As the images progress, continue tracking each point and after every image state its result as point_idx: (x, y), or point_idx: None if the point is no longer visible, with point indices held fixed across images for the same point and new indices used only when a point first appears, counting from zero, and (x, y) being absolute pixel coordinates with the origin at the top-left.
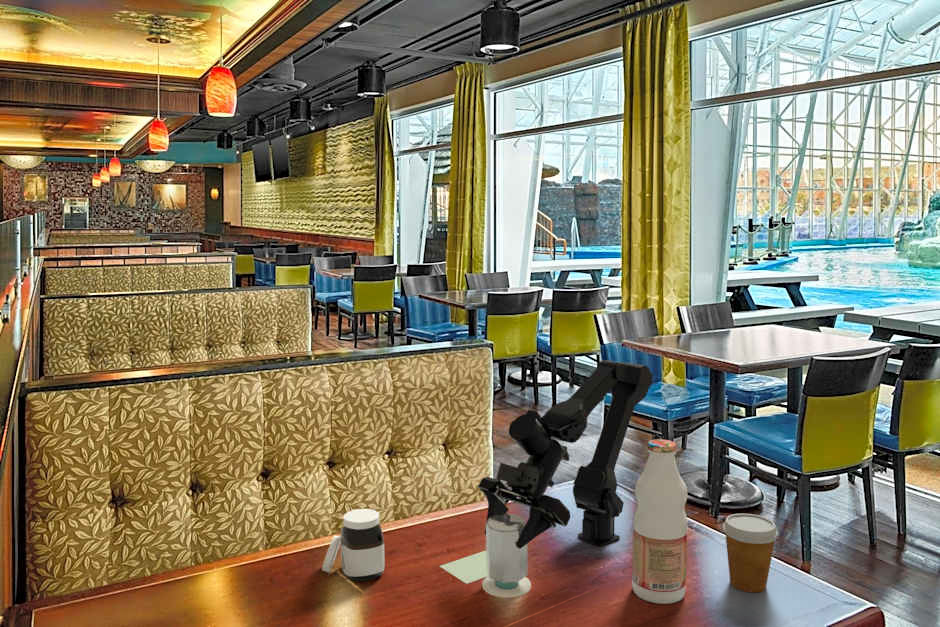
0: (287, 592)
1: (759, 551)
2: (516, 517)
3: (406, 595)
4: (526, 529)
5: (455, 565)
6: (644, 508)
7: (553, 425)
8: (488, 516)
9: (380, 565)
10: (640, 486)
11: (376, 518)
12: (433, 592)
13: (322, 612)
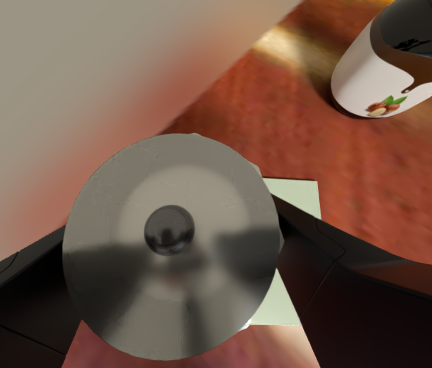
0: (350, 26)
1: None
2: (171, 320)
3: (269, 104)
4: (32, 249)
5: (305, 202)
6: None
7: None
8: (302, 214)
9: (339, 82)
10: None
11: None
12: (255, 132)
13: (289, 29)
